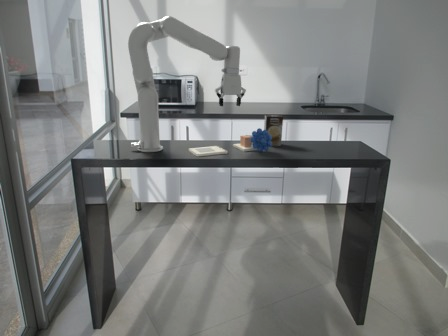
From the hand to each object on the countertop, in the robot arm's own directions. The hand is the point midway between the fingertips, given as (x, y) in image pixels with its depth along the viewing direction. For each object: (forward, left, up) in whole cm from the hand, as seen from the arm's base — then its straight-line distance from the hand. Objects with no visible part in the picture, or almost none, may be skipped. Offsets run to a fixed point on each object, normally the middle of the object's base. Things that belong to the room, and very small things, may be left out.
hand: (229, 105), depth 184 cm
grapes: (+10, -18, -22) cm, 30 cm away
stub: (+5, -8, -21) cm, 23 cm away
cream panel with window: (-15, -8, -21) cm, 28 cm away
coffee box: (+24, -6, -22) cm, 32 cm away
